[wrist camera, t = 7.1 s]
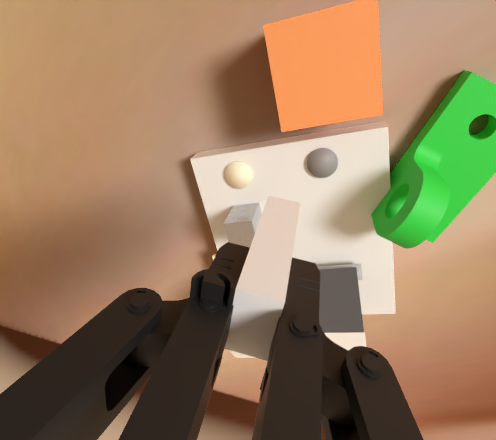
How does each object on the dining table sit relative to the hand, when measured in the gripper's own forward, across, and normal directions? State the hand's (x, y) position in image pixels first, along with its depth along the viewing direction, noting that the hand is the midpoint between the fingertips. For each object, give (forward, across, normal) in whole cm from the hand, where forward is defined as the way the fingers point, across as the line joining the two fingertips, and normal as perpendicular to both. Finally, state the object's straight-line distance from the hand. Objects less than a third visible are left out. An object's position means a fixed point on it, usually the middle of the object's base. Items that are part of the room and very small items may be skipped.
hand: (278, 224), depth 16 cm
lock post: (+13, -3, -7) cm, 15 cm away
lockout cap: (+15, 0, +6) cm, 16 cm away
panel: (+15, +2, -9) cm, 17 cm away
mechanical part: (+16, +12, +1) cm, 19 cm away
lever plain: (+11, +6, -10) cm, 16 cm away
